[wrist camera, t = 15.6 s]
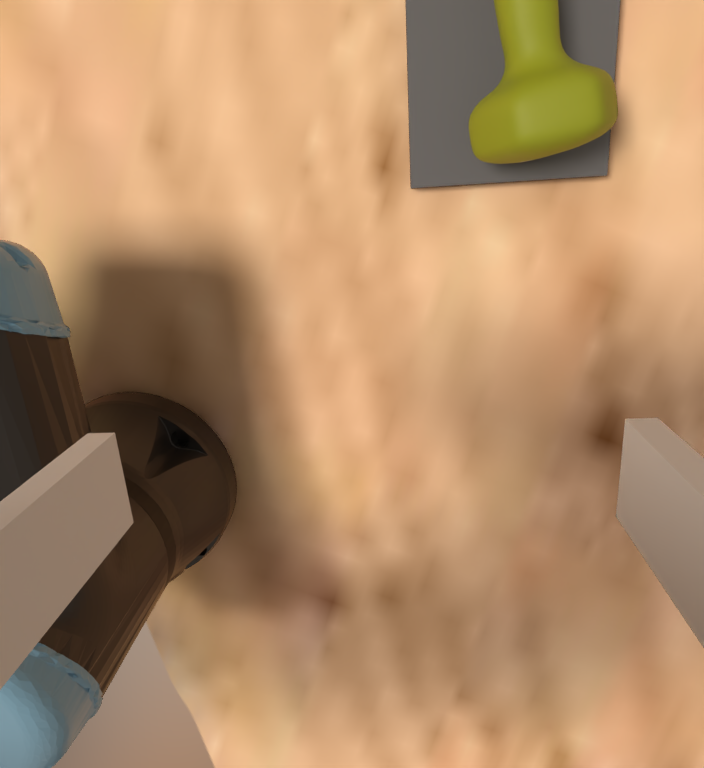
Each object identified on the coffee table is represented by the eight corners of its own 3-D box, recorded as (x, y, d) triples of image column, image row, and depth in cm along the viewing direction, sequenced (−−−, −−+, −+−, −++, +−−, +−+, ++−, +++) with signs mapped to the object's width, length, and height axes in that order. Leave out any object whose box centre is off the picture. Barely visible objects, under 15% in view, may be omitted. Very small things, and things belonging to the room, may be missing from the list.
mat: (410, 188, 38) (411, 188, 36) (400, -174, 32) (400, -191, 30) (599, 175, 37) (607, 175, 35) (625, -201, 31) (636, -221, 29)
